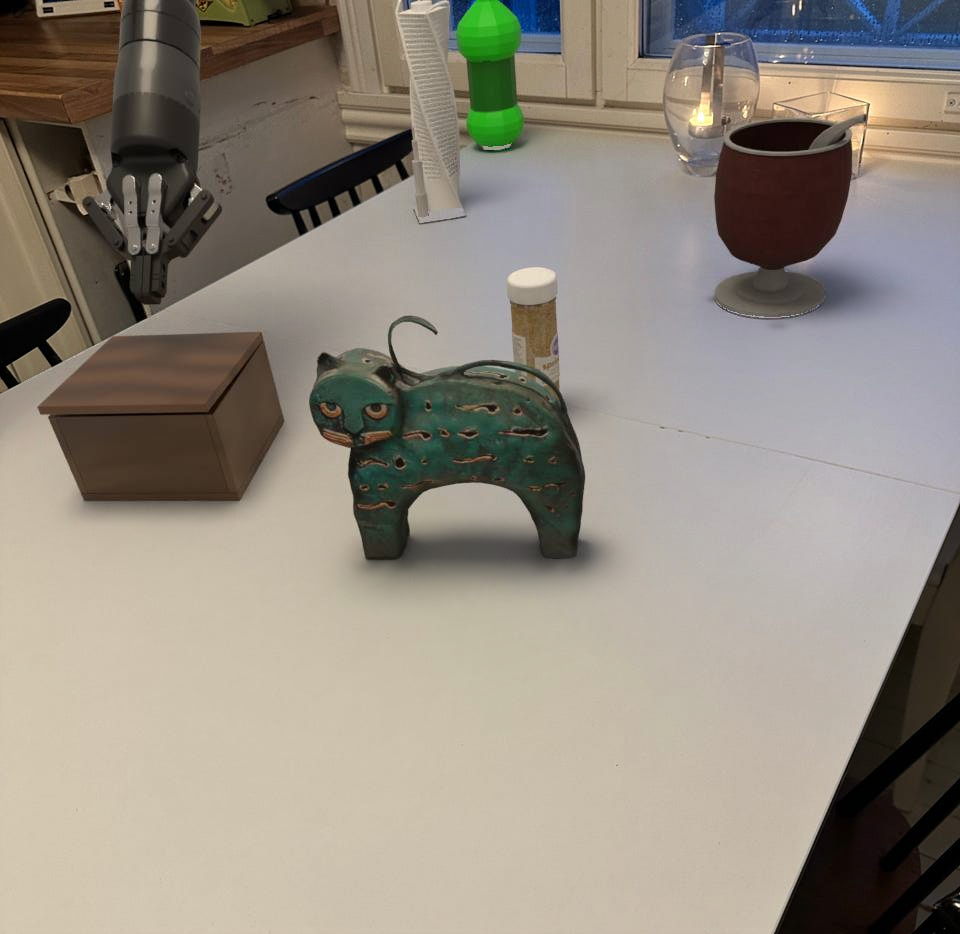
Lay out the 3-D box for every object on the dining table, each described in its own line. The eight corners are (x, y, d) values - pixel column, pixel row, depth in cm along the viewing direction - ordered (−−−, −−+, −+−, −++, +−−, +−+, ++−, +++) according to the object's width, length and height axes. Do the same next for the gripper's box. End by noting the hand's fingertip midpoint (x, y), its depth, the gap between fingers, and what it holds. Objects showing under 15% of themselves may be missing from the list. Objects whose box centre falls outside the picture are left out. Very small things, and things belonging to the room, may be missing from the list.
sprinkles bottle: (561, 419, 94) (555, 283, 85) (514, 420, 94) (504, 286, 85) (562, 396, 97) (557, 263, 88) (517, 398, 98) (508, 266, 89)
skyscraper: (411, 206, 146) (383, -12, 128) (463, 198, 147) (443, -20, 129) (419, 224, 140) (390, -4, 122) (473, 215, 141) (452, -12, 122)
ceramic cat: (342, 567, 79) (288, 335, 66) (360, 522, 84) (313, 297, 70) (584, 570, 76) (579, 327, 62) (588, 523, 80) (584, 287, 67)
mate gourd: (682, 302, 112) (692, 111, 98) (755, 264, 118) (774, 80, 105) (796, 337, 102) (824, 132, 89) (869, 294, 109) (905, 97, 95)
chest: (239, 500, 88) (213, 414, 82) (83, 500, 91) (47, 417, 85) (284, 420, 99) (264, 339, 93) (143, 423, 101) (115, 344, 95)
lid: (208, 412, 81) (205, 403, 81) (40, 415, 84) (36, 406, 83) (263, 339, 93) (261, 331, 92) (115, 343, 95) (112, 336, 95)
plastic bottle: (459, 156, 164) (442, -19, 148) (479, 138, 172) (465, -30, 155) (515, 156, 161) (504, -23, 145) (533, 137, 169) (524, -34, 152)
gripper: (242, 133, 89) (234, 315, 89) (112, 142, 92) (102, 319, 91) (207, 83, 82) (197, 281, 81) (66, 93, 84) (55, 286, 83)
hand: (147, 301), depth 86 cm, fingers closed
